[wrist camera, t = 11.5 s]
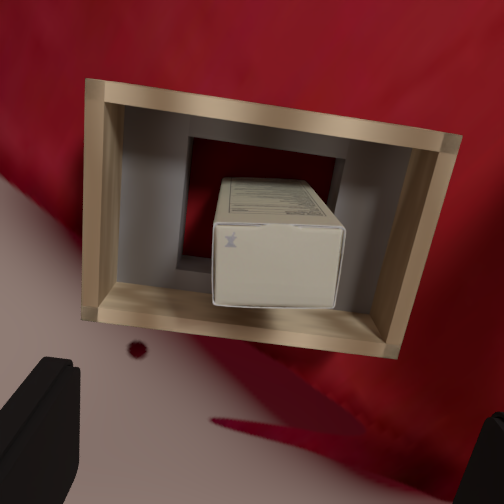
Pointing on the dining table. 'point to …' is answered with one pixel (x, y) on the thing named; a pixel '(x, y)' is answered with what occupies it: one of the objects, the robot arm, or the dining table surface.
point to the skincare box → (275, 246)
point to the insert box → (199, 269)
